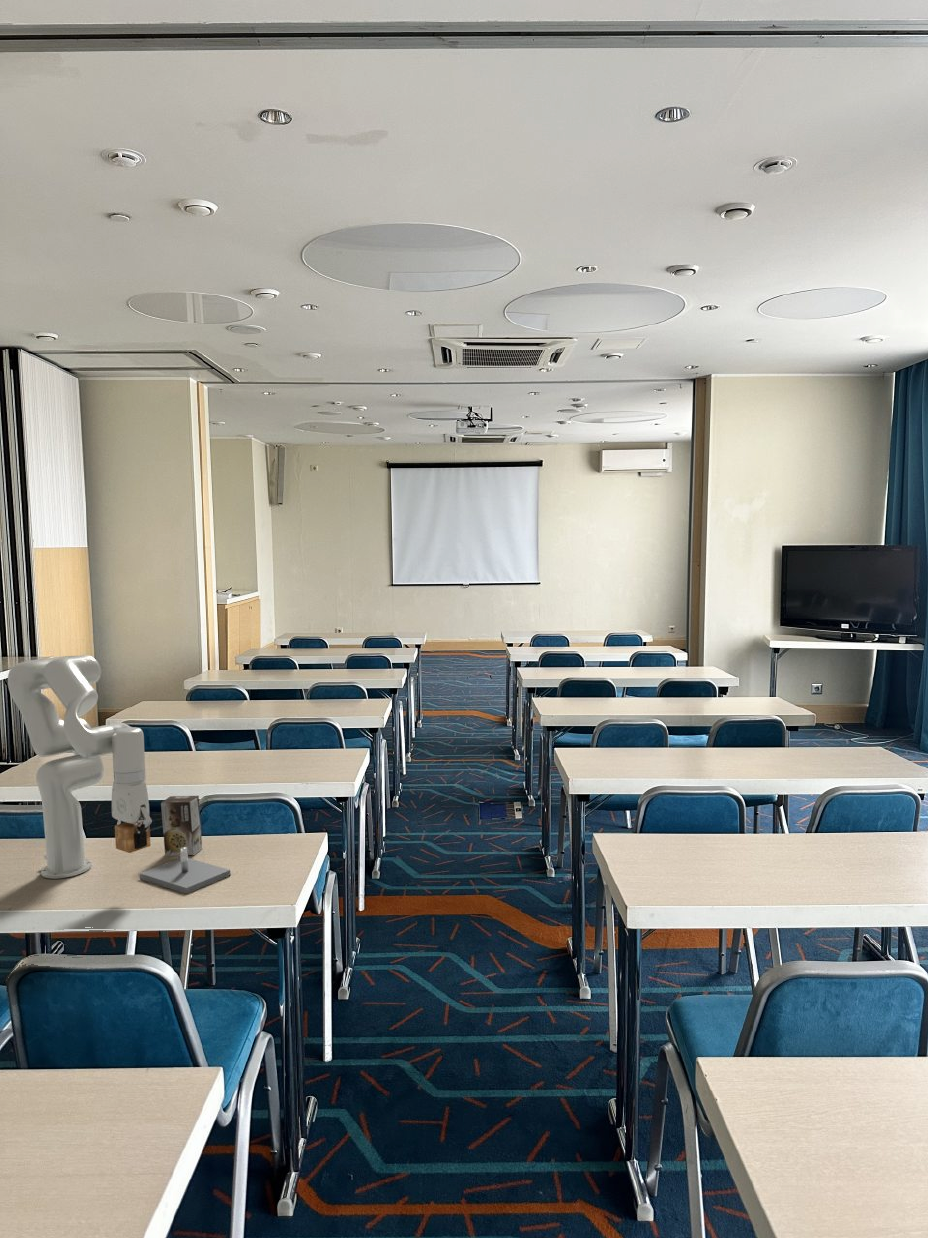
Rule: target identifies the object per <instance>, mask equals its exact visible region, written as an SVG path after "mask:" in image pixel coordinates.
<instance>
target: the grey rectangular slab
mask: <svg viewBox="0 0 928 1238" xmlns="http://www.w3.org/2000/svg"><path fill="white" fill-rule="evenodd" d="M188 869H189V871H188V872H186V873H182V871H181V857H180V858H177V859H175V860H172V861H170V862H166V863H164V864H161V865H158V866H155V867H153V868H151V869H147V870H145V871H142V872H139V877H140V878H139V879H140V880H143V881H146V882H150V883H152V884H155V885H159V886H161V885H162V887H164V886H165V888H167V887H168V889H171V890H174V891H177V892H180V893H184V894H189V893H192V892H194V890H195V891H196V890H200V889H201V887H202V888H204V887H206V886H209V885H211V884H213V882H214V883H216V882H217V880H218V881H220V879H221V880H222V879H226V878H228V877H230V876H231V875H232V874H231V870H230V869H229V868H225V867H221V866H219V865H218V866H217V865H214V864H211V863H206V862H203V861H200V860H196V859H193V858H191V857H188ZM229 875H230V876H229ZM227 876H228V877H227ZM225 877H226V878H225ZM215 881H216V882H215ZM205 885H206V886H205ZM203 886H204V887H203Z"/></svg>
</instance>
